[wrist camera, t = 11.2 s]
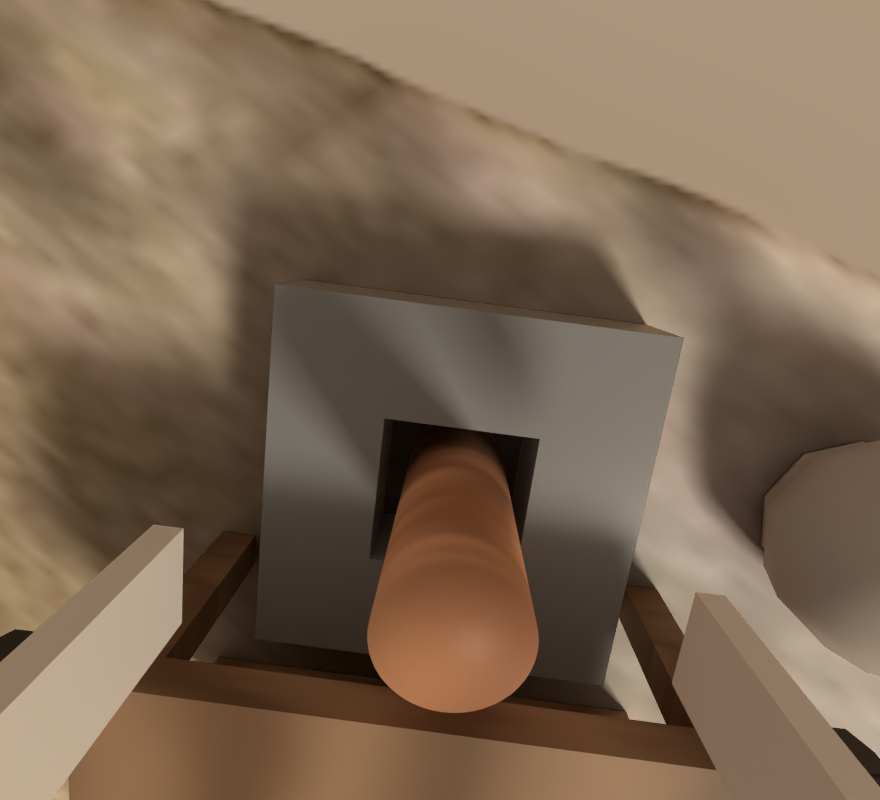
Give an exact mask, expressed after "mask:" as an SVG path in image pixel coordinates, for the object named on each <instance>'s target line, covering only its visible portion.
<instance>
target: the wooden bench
mask: <svg viewBox="0 0 880 800" xmlns="http://www.w3.org/2000/svg"><path fill="white" fill-rule="evenodd" d="M254 548H255V536H253V535H246V534H238V533H231V532H222V533H221V534H220V535H219V536H218V537H217V539H216V540H215V541H214V542H213V543H212V544H211V545H210V547H209V548H208V549H207V550H206V551H205V552H204V553H203V555H202V556H201V557H200V558H199V559H198V560H197V562H196V563H195V564H194V565H193V566H192V567H191V568H190V570H189V571H188V572H187V573H186V574H185V575H184V576H183V591H182V623H181V625H180V626H179V627H178V629H177V630H176V632H175V633H174V634H173V636H172V637H171V638H170V640H169V641H168V642H167V644H166V645H165V646H164V648H163V649H162V651H161V652H160V653H159V655H158V656H157V657H156V659H155V660H154V661H153V663H152V664H151V665H150V667H149V668H148V670H147V671H146V672H145V674H144V675H143V676H142V678H141V679H140V680H139V682H138V683H137V684H136V686H135V687H134V689H133V690H132V691H131V693H130V694H129V695H128V697H127V698H126V699H125V701H124V702H123V703H122V705H121V706H120V708H119V709H118V710H117V712H116V713H115V714H114V716H113V717H112V718H111V720H110V721H109V723H108V724H107V725H106V727H105V728H104V729H103V731H102V732H101V733H100V735H99V736H98V737H97V739H96V740H95V742H94V743H93V744H92V746H91V747H90V748H89V750H88V751H87V752H86V754H85V755H84V756H83V758H82V759H81V761H80V762H79V763H78V765H77V766H76V767H75V769H74V770H73V771H72V773H71V774H70V775H69V797H70V800H732V799H731V797H730V795H729V793H728V791H727V789H726V787H725V785H724V784H723V782H722V780H721V778H720V776H719V774H718V772H717V770H716V768H715V766H714V764H713V762H712V760H711V758H710V756H709V754H708V753H707V751H706V749H705V747H704V745H703V743H702V741H701V739H700V737H699V735H698V733H697V731H696V729H695V727H694V725H693V724H692V722H691V720H690V718H689V716H688V714H687V712H686V710H685V708H684V706H683V704H682V702H681V700H680V698H679V696H678V694H677V693H676V691H675V689H674V687H673V685H672V680H673V676H674V672H675V669H676V665H677V661H678V657H679V654H680V650H681V646H682V642H683V639H684V634H683V633H682V631H681V629H680V628H679V626H678V624H677V623H676V621H675V619H674V618H673V616H672V614H671V613H670V611H669V609H668V607H667V606H666V604H665V602H664V601H663V599H662V597H661V596H660V594H659V592H658V591H657V589H651V588H644V587H636V586H629V585H626V589H625V593H624V597H623V602H622V606H621V610H620V614H619V618H620V620H621V623H622V625H623V627H624V630H625V632H626V634H627V636H628V639H629V641H630V643H631V645H632V648H633V650H634V652H635V654H636V657H637V659H638V661H639V663H640V666H641V668H642V670H643V673H644V675H645V677H646V679H647V682H648V684H649V686H650V688H651V691H652V693H653V695H654V697H655V700H656V702H657V704H658V707H659V709H660V711H661V713H662V716H663V718H664V720H665V722H666V724H659V723H652V722H644V721H637V720H629V718H628V715H627V712H623V711H616V710H609V709H601V708H594V707H586V706H579V705H571V704H564V703H556V702H549V701H541V700H534V699H526V698H519V697H511V696H508V697H506V698H505V699H503V700H502V701H500V702H498V703H496V704H494V705H492V706H489V707H486V708H484V709H480V710H476V711H471V712H464V713H447V712H438V711H433V710H429V709H426V708H423V707H420V706H417V705H415V704H413V703H411V702H409V701H407V700H406V699H404V698H402V697H401V696H399V695H398V694H397V693H395V692H394V691H393V690H392V689H391V688H390V687H389V686H388V685H387V684H386V683H385V682H384V681H383V679H377V678H369V677H362V676H355V675H347V674H340V673H332V672H325V671H317V670H310V669H302V668H295V667H287V666H280V665H272V664H265V663H257V662H250V661H242V660H235V659H228V658H220V657H218V658H217V660H216V661H215V663H214V664H211V663H204V662H196V661H189V660H190V659H191V657H192V656H193V654H194V653H195V651H196V650H197V648H198V647H199V645H200V644H201V642H202V641H203V639H204V638H205V636H206V635H207V633H208V632H209V630H210V629H211V627H212V626H213V624H214V623H215V622H216V620H217V619H218V617H219V616H220V614H221V613H222V611H223V610H224V608H225V607H226V605H227V604H228V602H229V601H230V599H231V598H232V596H233V595H234V593H235V592H236V590H237V589H238V587H239V586H240V584H241V583H242V581H243V580H244V579H245V577H246V576H247V574H248V573H249V571H250V570H251V568H252V567H253V565H254Z"/></svg>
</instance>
